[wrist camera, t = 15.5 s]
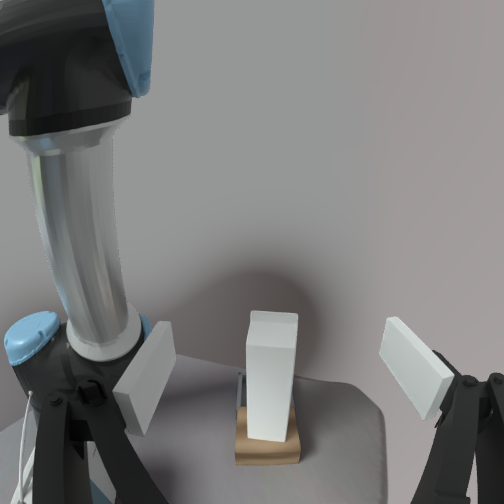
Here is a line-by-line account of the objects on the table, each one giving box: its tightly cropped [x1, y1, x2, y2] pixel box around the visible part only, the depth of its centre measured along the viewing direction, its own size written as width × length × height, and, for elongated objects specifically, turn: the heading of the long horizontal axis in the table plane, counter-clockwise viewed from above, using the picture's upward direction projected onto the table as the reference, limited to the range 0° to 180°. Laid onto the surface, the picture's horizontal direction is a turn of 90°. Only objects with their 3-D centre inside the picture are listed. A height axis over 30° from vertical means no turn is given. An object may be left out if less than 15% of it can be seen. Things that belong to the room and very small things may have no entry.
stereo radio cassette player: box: [11, 391, 116, 504], centre depth 15 cm, size 21×8×20 cm, turn 9°
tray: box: [236, 373, 295, 419], centre depth 50 cm, size 12×11×3 cm
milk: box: [246, 311, 298, 442], centre depth 36 cm, size 6×6×22 cm
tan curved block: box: [235, 406, 301, 465], centre depth 39 cm, size 11×10×4 cm
